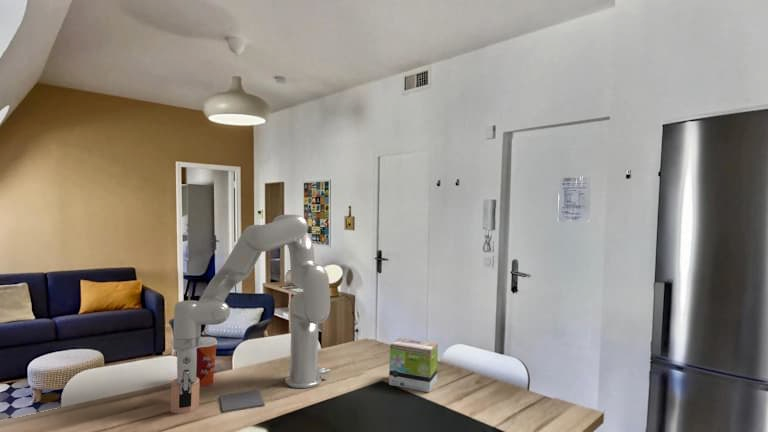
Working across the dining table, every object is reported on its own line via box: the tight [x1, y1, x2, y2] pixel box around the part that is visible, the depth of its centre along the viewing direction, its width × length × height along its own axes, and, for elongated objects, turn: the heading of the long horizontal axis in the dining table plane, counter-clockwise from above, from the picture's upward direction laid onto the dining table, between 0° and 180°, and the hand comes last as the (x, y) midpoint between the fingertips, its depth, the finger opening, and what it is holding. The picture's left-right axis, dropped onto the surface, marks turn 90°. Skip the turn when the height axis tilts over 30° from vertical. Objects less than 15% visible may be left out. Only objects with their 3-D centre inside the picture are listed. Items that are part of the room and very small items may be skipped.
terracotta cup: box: [170, 377, 201, 415], centre depth 127 cm, size 8×8×8 cm
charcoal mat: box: [219, 389, 266, 413], centre depth 132 cm, size 12×12×1 cm
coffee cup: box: [196, 336, 218, 387], centre depth 147 cm, size 8×8×15 cm
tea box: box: [388, 337, 439, 393], centre depth 150 cm, size 15×10×15 cm
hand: (185, 401), depth 127 cm, fingers closed on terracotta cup, 7 cm apart
